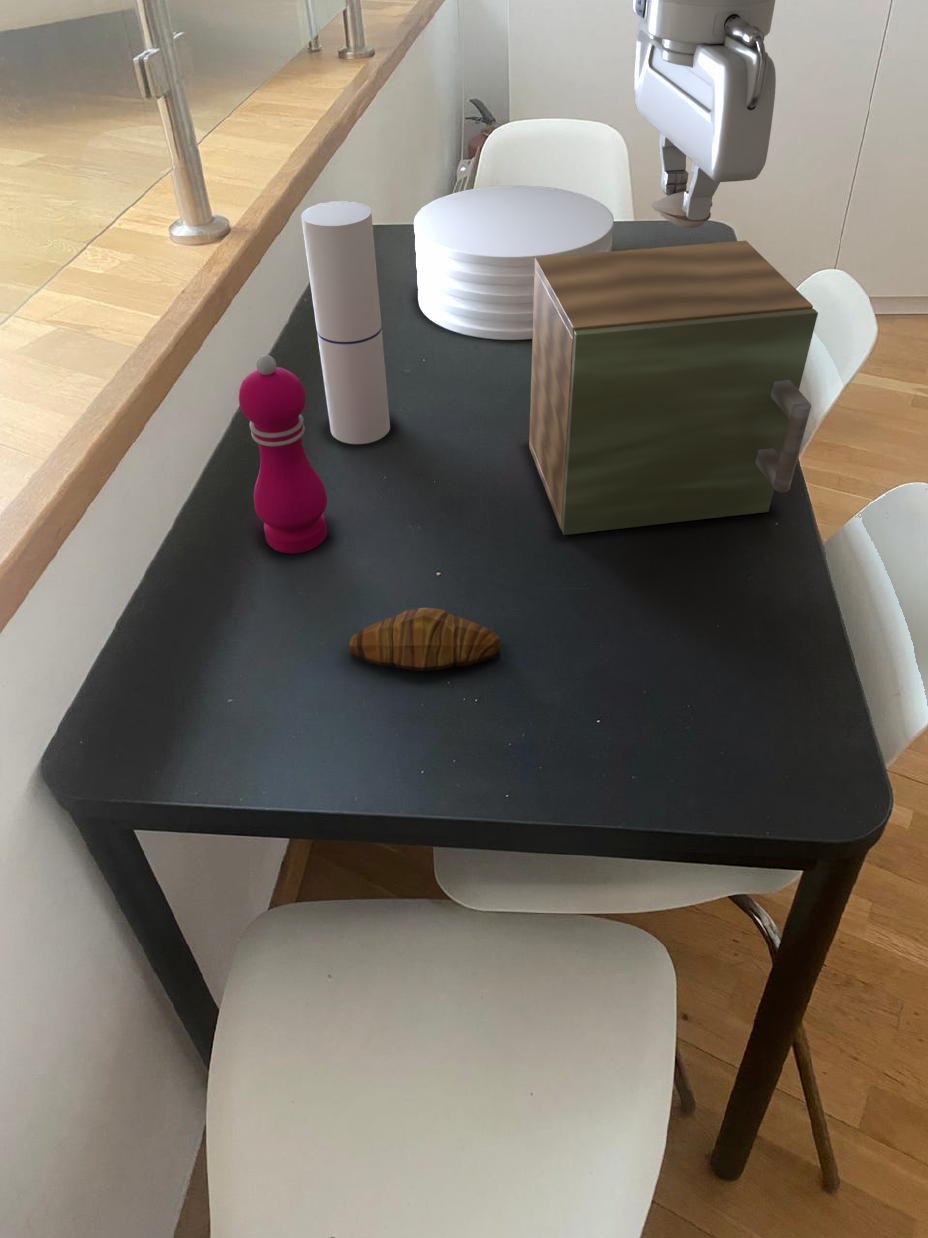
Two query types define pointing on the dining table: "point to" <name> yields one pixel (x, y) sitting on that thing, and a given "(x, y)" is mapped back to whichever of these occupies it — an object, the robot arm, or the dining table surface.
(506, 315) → the plate stack
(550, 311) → the cupboard
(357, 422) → the cylindrical container
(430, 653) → the croissant
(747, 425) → the cupboard door
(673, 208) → the clam shell
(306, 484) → the pepper mill
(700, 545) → the dining table surface
